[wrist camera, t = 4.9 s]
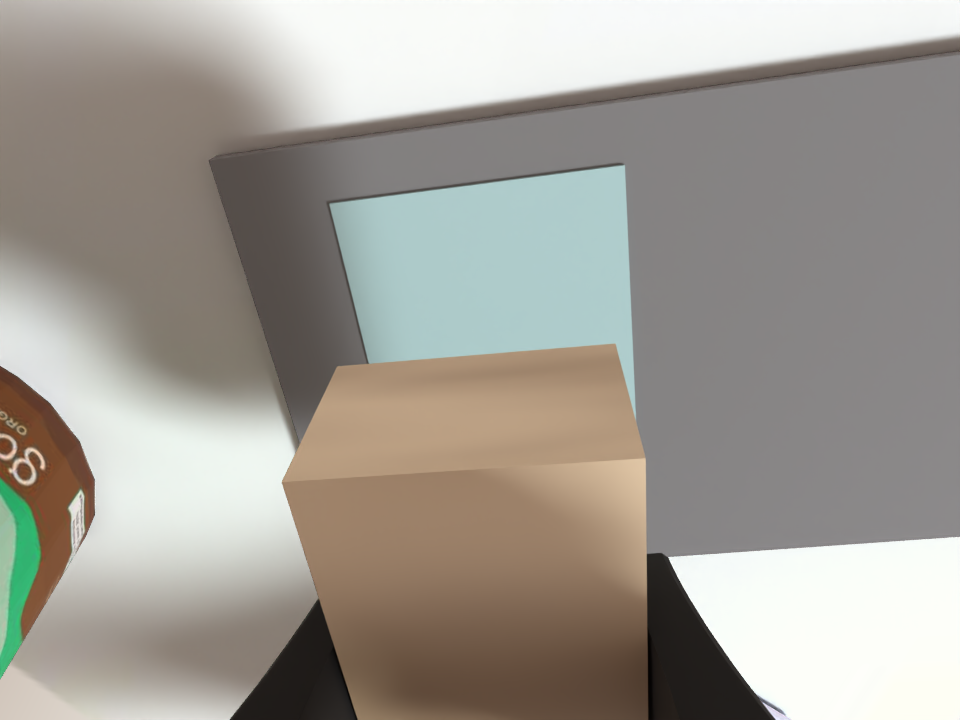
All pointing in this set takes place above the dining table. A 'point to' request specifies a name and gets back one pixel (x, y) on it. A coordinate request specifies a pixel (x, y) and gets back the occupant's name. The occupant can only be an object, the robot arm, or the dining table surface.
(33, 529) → the food container
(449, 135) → the mat
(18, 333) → the dining table surface
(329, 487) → the tan wooden block
